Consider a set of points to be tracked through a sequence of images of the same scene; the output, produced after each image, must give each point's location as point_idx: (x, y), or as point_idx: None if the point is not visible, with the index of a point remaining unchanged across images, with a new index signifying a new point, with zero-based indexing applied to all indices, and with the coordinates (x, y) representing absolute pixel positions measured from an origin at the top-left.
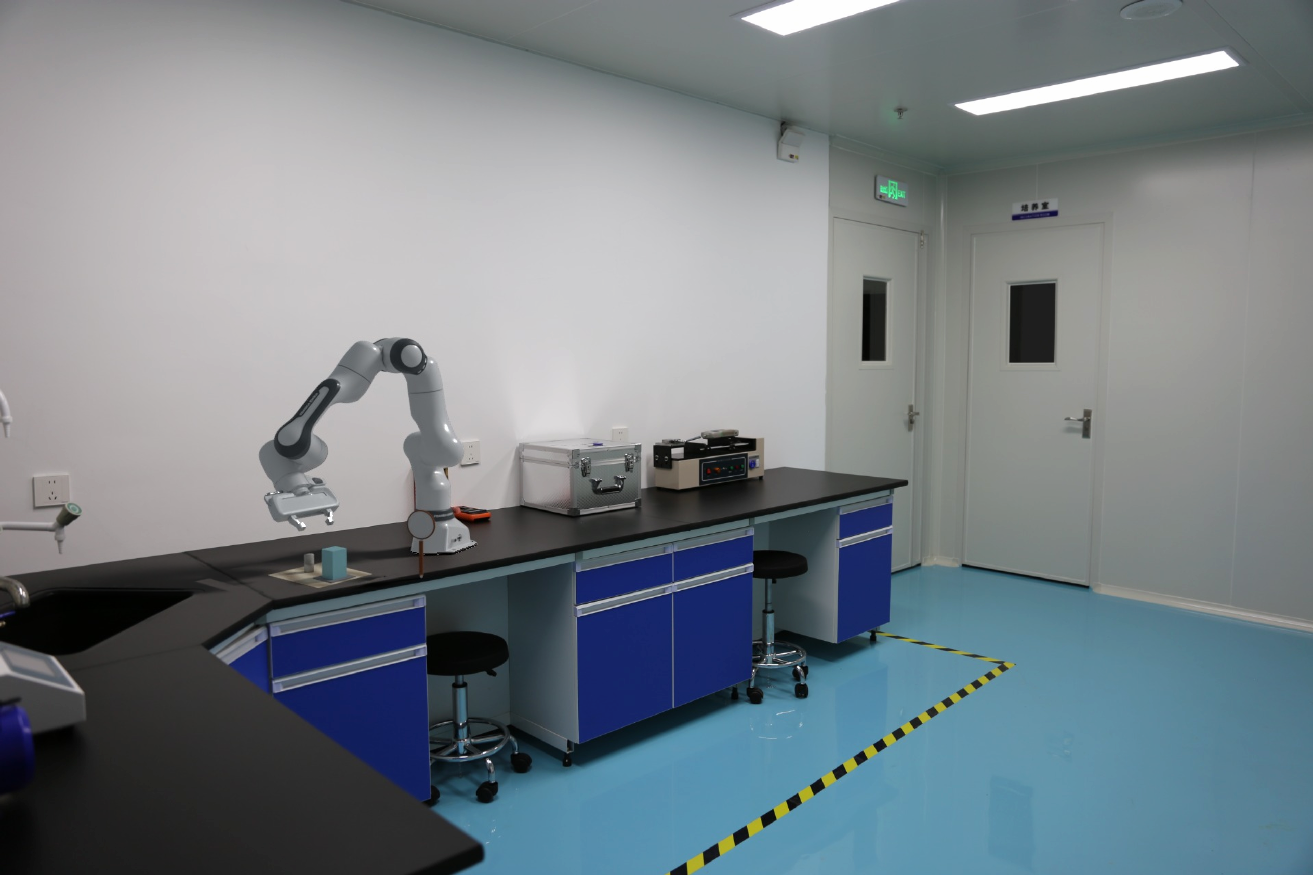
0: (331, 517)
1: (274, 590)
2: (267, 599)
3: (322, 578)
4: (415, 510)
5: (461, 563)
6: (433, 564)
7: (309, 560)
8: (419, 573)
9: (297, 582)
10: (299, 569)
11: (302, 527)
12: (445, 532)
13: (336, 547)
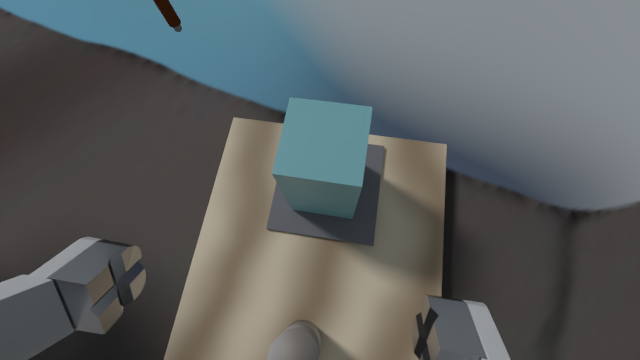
0: (45, 270)
1: (504, 308)
2: (584, 240)
3: (364, 205)
4: None
5: (4, 33)
6: (29, 85)
7: (310, 333)
8: (178, 20)
9: (440, 256)
10: None
11: (468, 302)
12: None
13: (296, 148)
